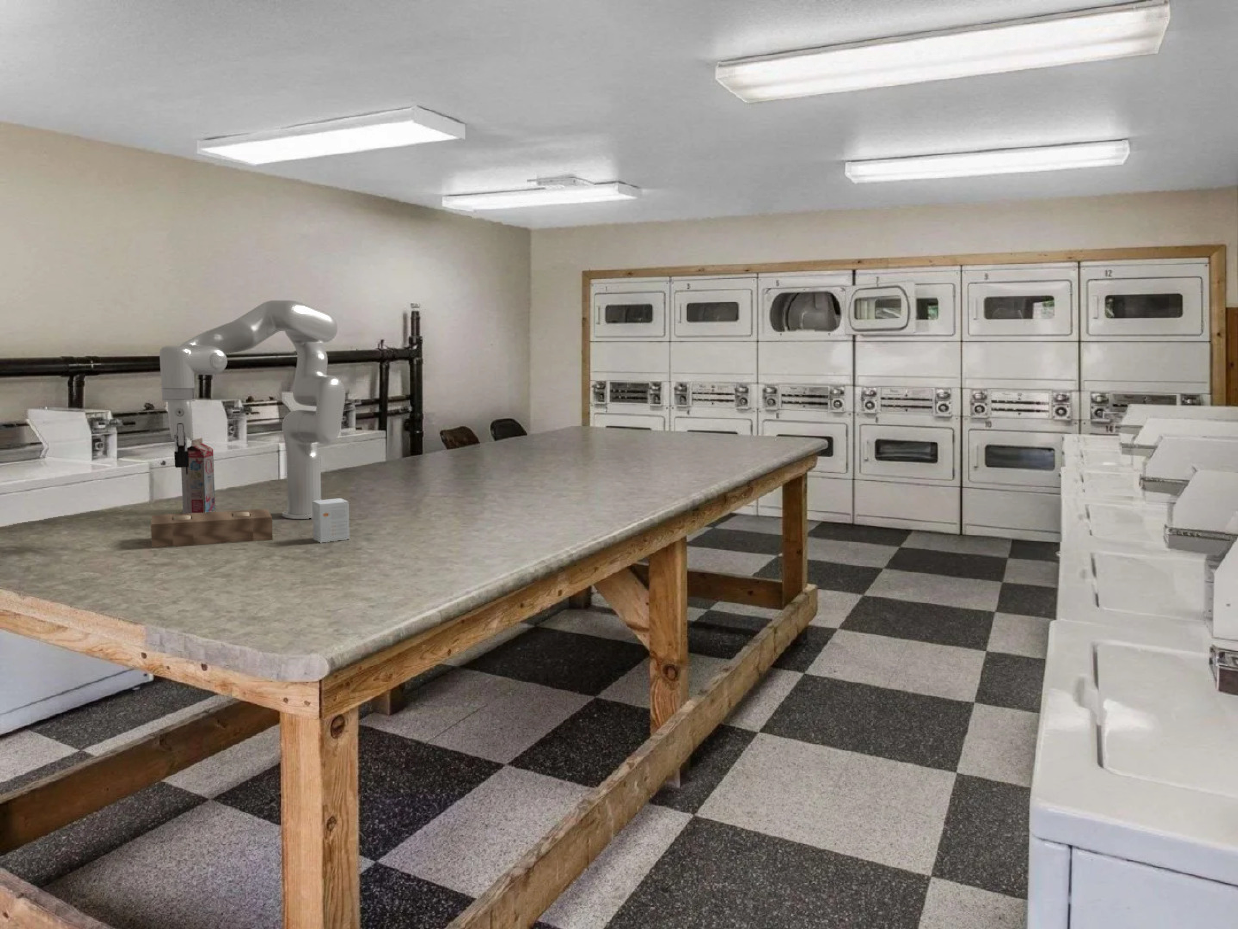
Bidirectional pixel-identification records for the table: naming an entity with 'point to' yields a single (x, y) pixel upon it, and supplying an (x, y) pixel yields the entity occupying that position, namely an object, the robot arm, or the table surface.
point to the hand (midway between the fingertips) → (182, 466)
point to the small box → (330, 520)
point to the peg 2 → (240, 514)
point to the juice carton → (198, 479)
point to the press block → (210, 528)
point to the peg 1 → (182, 517)
